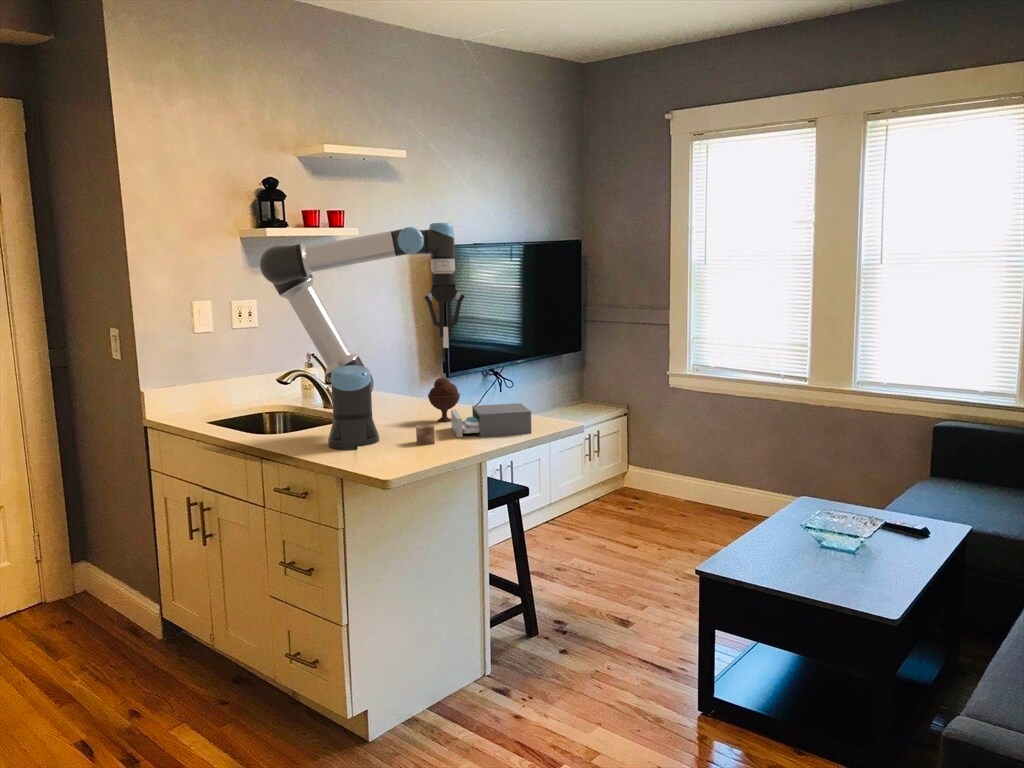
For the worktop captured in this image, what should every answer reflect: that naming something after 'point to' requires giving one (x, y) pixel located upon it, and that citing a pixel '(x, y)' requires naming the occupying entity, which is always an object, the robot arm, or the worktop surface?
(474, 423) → the disc
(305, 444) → the worktop surface
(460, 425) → the tray
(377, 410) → the worktop surface
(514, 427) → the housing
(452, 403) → the ice cream bowl
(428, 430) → the block
